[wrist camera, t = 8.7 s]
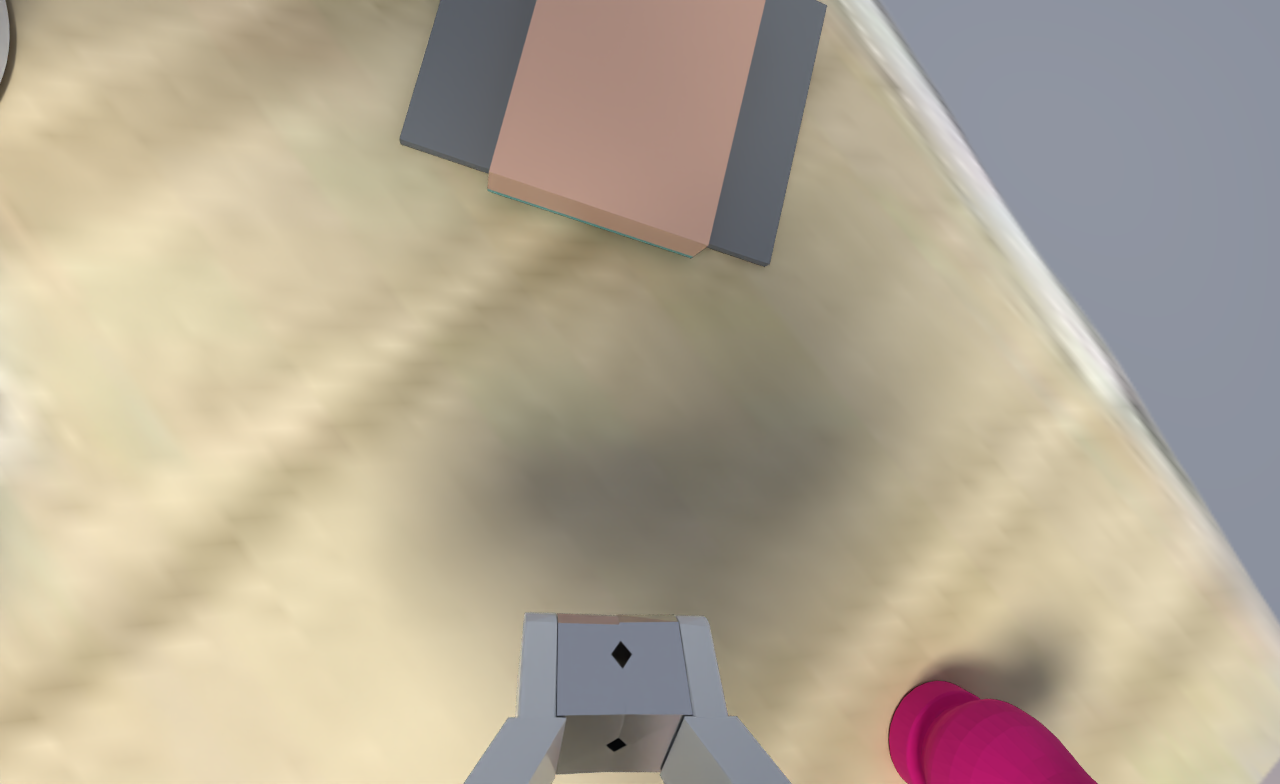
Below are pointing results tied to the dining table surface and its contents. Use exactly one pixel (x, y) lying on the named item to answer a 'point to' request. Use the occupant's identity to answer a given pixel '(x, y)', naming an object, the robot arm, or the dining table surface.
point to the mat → (487, 65)
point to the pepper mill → (975, 742)
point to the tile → (628, 114)
